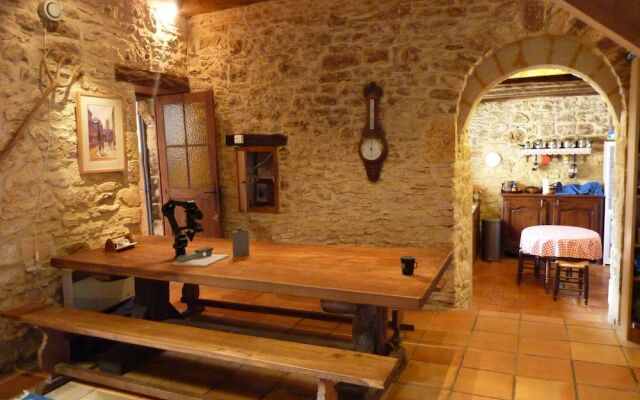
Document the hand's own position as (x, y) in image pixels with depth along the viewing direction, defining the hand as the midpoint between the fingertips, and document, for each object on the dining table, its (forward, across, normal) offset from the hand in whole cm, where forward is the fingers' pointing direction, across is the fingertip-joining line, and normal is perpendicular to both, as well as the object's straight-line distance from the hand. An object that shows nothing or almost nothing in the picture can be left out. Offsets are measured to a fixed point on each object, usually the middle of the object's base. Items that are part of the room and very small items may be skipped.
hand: (191, 241), depth 334 cm
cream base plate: (+12, -11, +1) cm, 16 cm away
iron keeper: (+11, -6, -6) cm, 14 cm away
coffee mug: (+12, -146, -29) cm, 150 cm away
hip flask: (+12, -23, -24) cm, 35 cm away
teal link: (+10, -4, +5) cm, 13 cm away
